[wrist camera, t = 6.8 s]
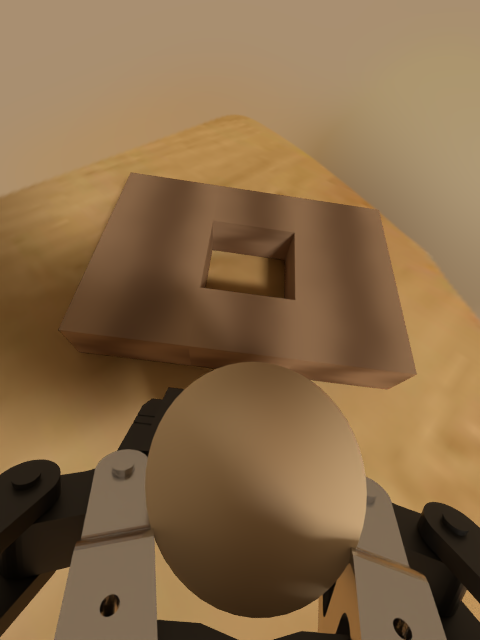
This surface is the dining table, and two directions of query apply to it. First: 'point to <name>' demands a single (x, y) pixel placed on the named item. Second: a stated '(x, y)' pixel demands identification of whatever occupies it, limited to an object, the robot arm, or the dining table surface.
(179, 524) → the peg
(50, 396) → the dining table surface
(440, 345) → the dining table surface
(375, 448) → the dining table surface
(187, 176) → the dining table surface
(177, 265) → the board
